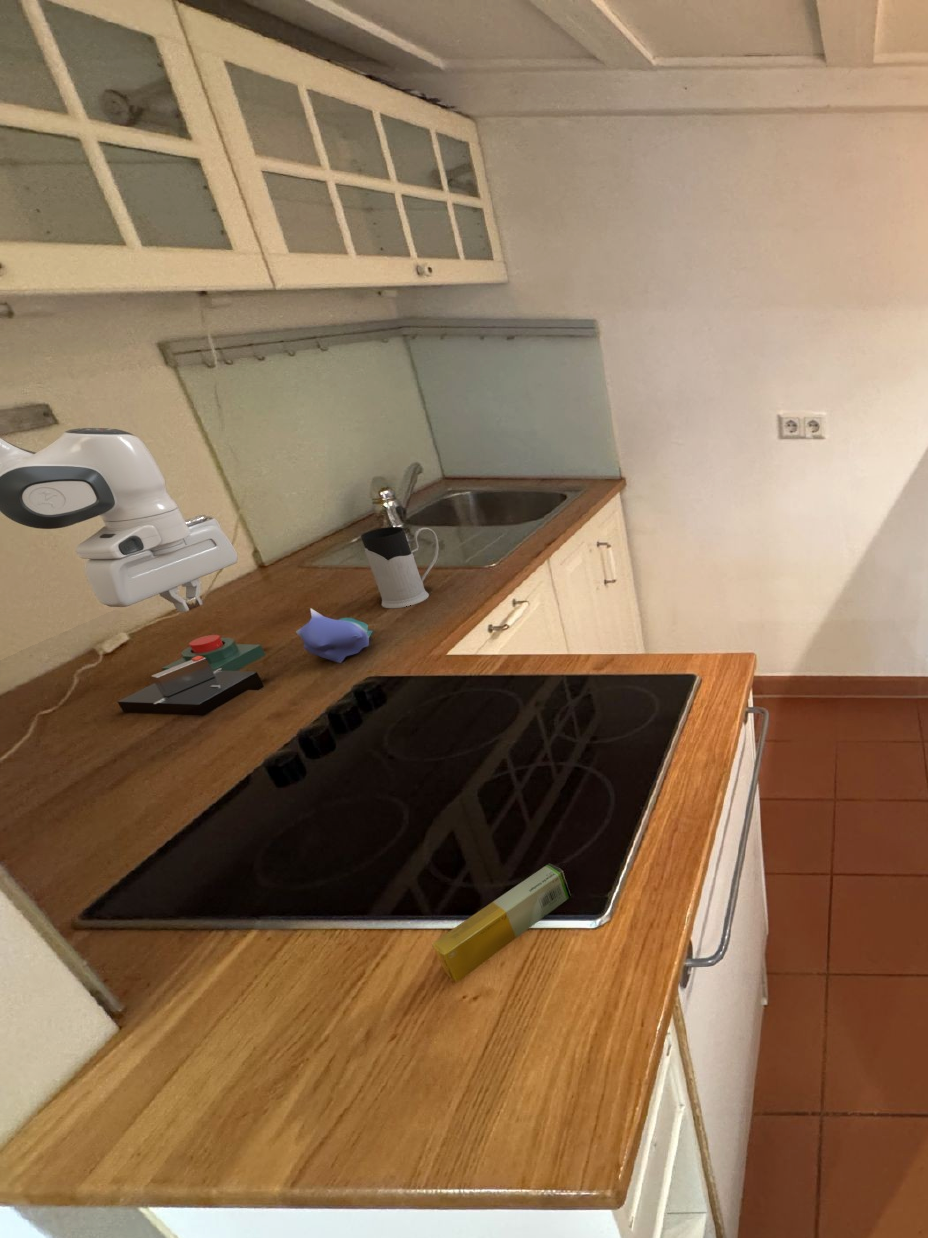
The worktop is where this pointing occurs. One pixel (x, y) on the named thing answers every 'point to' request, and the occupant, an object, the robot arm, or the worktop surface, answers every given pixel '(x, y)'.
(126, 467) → the robot arm
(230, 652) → the green control housing
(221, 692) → the base
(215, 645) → the button
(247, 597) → the worktop surface
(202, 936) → the worktop surface
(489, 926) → the medication box
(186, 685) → the grey switch lever
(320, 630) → the figurine
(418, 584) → the glass holder
